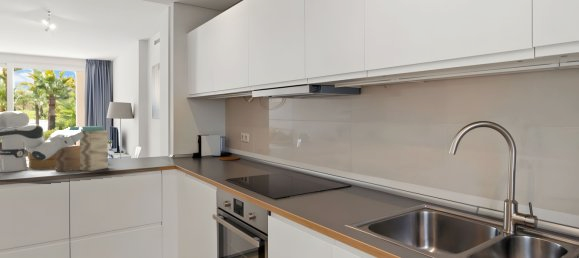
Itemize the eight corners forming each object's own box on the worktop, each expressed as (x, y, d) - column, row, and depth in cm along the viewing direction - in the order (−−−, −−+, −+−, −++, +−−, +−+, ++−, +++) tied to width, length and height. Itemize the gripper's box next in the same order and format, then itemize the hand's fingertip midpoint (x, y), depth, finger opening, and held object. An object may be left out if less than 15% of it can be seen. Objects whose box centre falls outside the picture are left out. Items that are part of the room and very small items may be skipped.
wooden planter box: (55, 169, 229) (54, 152, 229) (18, 169, 230) (18, 152, 230) (78, 164, 254) (78, 149, 254) (45, 164, 255) (45, 149, 254)
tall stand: (80, 170, 225) (79, 131, 224) (97, 167, 239) (96, 130, 238) (91, 170, 223) (90, 131, 222) (107, 167, 237) (107, 130, 236)
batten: (70, 131, 214) (70, 127, 214) (100, 130, 237) (100, 126, 237) (74, 131, 213) (73, 127, 213) (103, 130, 236) (103, 126, 236)
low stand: (55, 170, 222) (55, 146, 221) (74, 167, 235) (73, 144, 235) (65, 171, 220) (65, 146, 219) (83, 168, 233) (83, 145, 233)
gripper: (48, 144, 209) (65, 132, 221) (75, 145, 204) (91, 133, 215) (43, 136, 206) (60, 124, 217) (70, 136, 201) (86, 124, 212)
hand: (76, 128), depth 216 cm, fingers open, 8 cm apart
